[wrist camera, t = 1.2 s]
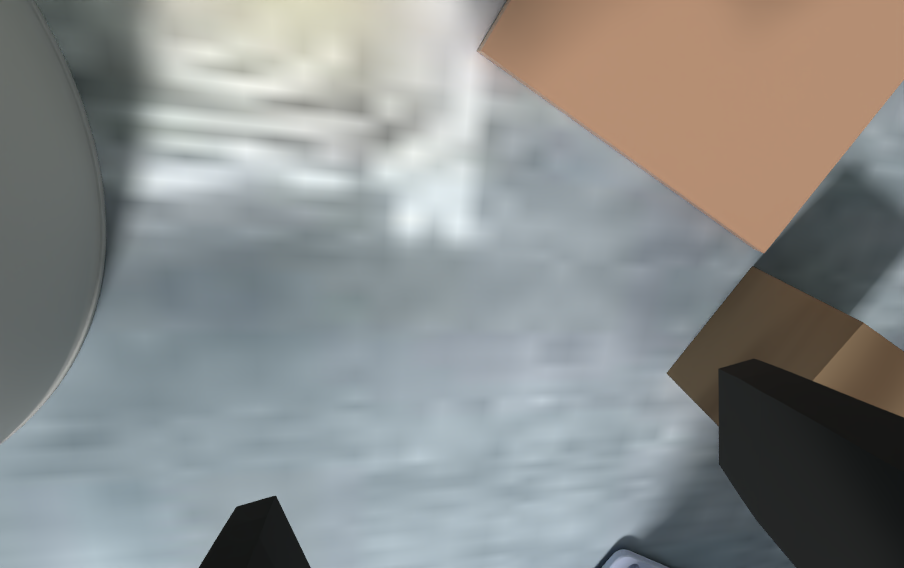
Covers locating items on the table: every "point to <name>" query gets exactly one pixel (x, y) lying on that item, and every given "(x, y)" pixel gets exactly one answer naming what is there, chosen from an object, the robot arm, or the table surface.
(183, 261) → the table surface
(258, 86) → the table surface
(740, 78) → the terracotta tile
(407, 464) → the table surface
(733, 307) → the walnut block
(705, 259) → the table surface
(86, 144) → the kettle
